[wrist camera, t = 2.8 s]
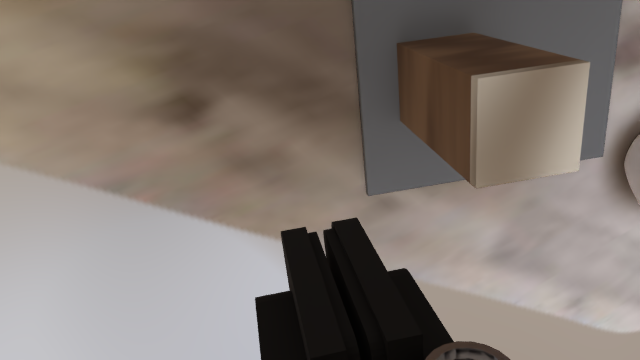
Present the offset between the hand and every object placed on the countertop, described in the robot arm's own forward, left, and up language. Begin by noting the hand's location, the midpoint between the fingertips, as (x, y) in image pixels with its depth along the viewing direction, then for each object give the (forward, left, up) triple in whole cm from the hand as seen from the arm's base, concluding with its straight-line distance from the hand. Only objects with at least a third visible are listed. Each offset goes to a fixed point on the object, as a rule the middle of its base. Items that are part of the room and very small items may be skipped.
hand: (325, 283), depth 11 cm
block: (-8, 0, -15) cm, 18 cm away
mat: (-11, 0, -16) cm, 20 cm away
